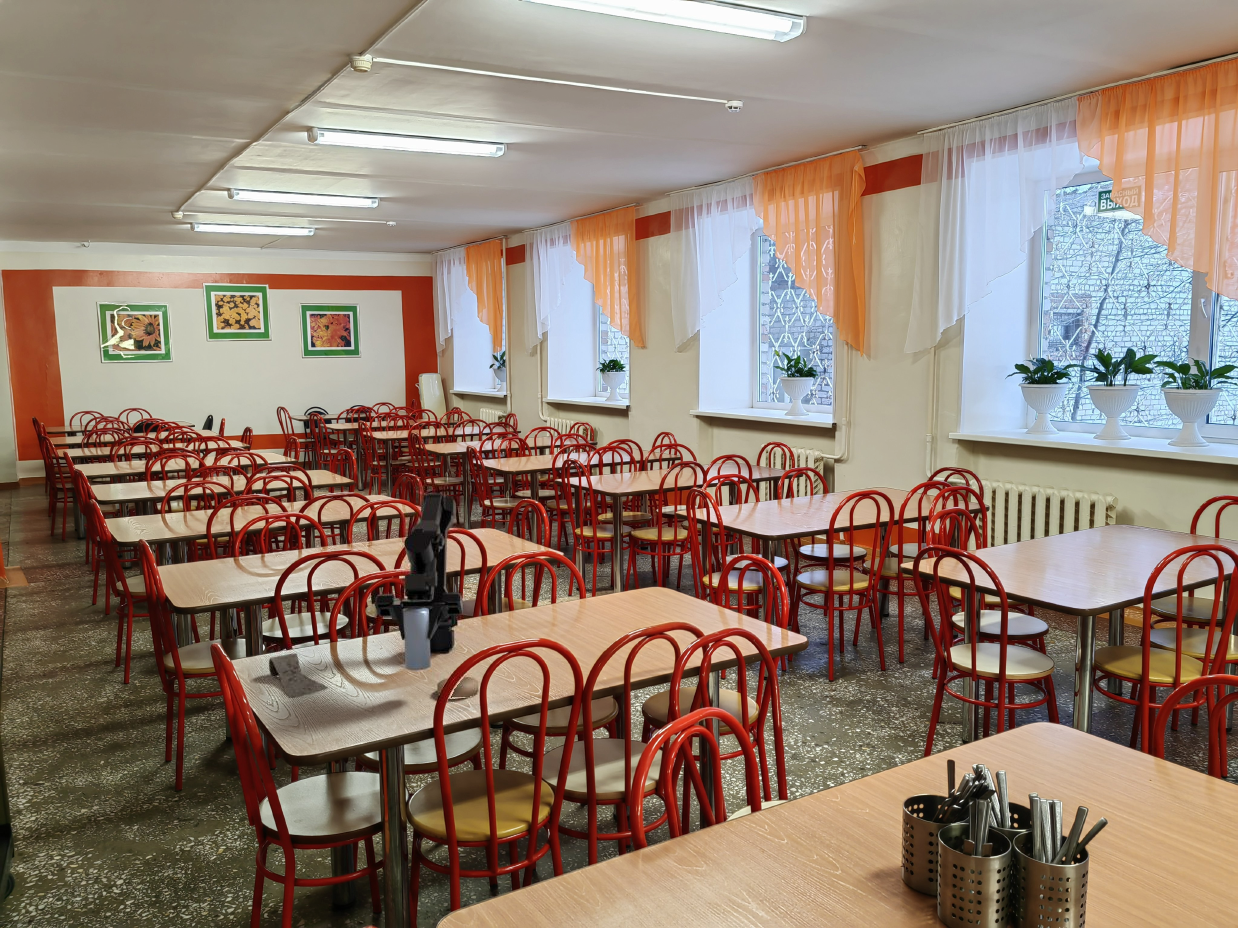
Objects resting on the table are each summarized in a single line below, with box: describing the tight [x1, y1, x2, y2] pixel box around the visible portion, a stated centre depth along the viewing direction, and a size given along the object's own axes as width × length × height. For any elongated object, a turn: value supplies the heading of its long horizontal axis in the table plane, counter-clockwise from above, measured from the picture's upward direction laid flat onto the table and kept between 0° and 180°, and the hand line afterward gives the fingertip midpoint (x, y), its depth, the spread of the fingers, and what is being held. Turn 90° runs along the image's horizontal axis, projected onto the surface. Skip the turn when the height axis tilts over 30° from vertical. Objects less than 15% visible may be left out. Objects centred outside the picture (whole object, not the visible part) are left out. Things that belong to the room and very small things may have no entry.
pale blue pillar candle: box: [403, 607, 431, 671], centre depth 205 cm, size 5×5×12 cm
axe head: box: [268, 653, 329, 699], centre depth 216 cm, size 21×5×10 cm
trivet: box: [436, 676, 479, 698], centre depth 209 cm, size 9×9×2 cm
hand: (416, 638), depth 204 cm, fingers closed on pale blue pillar candle, 5 cm apart
